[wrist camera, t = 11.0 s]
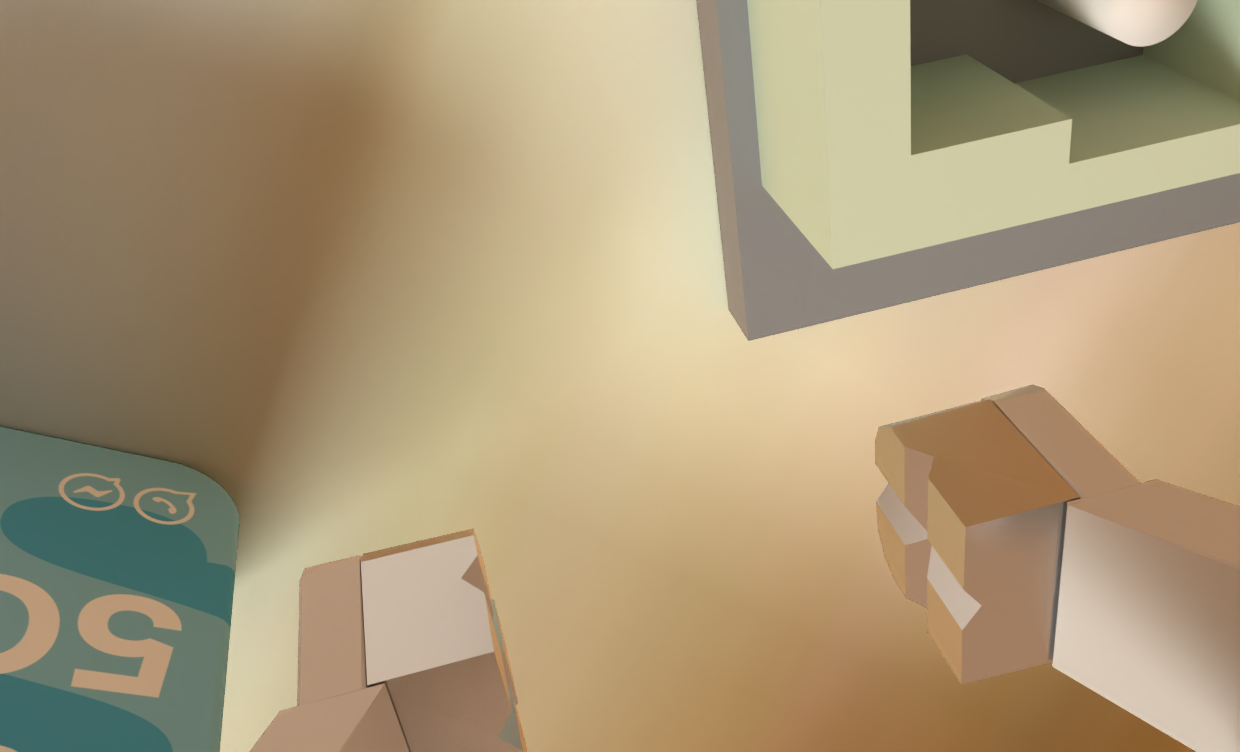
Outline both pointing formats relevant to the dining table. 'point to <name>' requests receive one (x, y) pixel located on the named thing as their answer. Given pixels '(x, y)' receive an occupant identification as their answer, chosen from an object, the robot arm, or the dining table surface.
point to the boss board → (815, 293)
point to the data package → (111, 599)
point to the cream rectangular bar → (974, 127)
